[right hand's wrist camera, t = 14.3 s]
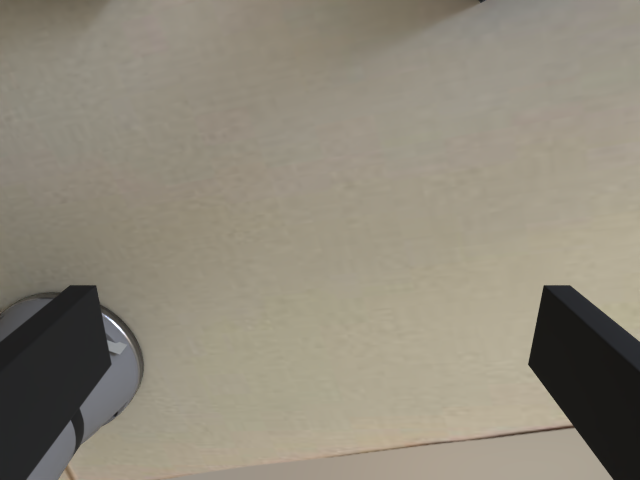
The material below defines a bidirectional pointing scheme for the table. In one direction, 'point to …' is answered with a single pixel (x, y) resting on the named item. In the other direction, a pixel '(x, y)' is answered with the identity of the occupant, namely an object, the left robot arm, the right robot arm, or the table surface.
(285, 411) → the table surface
